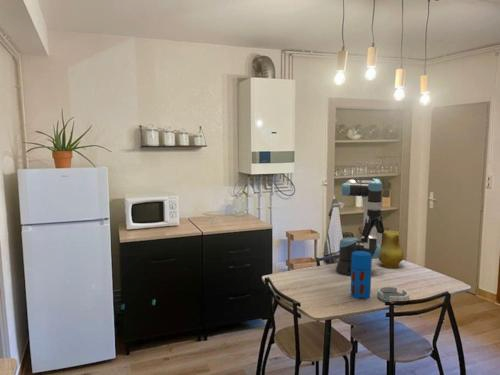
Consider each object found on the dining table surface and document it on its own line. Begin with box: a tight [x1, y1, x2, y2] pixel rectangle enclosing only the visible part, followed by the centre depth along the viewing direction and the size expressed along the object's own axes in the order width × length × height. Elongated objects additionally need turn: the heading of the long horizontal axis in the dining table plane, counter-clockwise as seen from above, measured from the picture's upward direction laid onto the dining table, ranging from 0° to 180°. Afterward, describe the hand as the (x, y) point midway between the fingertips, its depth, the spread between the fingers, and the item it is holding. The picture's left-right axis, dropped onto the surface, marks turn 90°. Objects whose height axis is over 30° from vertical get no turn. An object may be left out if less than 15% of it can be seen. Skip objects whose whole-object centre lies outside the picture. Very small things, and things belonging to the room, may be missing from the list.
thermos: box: [350, 251, 373, 301], centre depth 220 cm, size 11×11×25 cm
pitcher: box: [378, 230, 405, 269], centre depth 277 cm, size 17×19×25 cm
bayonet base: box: [376, 285, 410, 303], centre depth 217 cm, size 17×17×4 cm
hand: (372, 246), depth 220 cm, fingers open, 13 cm apart
